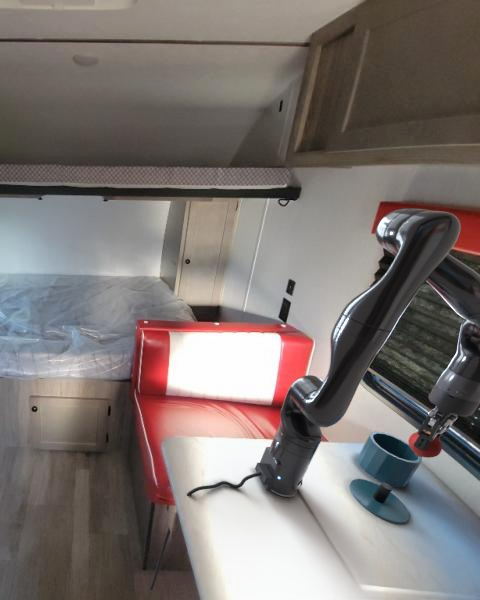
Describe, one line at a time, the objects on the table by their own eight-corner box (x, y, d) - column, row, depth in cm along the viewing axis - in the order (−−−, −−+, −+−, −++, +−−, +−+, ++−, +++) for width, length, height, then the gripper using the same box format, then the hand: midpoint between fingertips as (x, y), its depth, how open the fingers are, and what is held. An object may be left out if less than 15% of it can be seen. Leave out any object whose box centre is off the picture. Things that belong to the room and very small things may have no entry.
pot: (376, 486, 95) (392, 460, 92) (347, 454, 106) (360, 429, 102) (416, 490, 95) (433, 464, 92) (383, 457, 106) (397, 433, 102)
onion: (420, 448, 88) (435, 425, 85) (439, 466, 83) (456, 442, 80) (397, 445, 89) (411, 421, 86) (415, 462, 83) (430, 438, 80)
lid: (372, 522, 84) (383, 505, 82) (338, 479, 96) (346, 463, 94) (420, 527, 85) (432, 511, 82) (380, 483, 96) (390, 468, 94)
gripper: (448, 375, 85) (417, 427, 91) (425, 387, 78) (393, 442, 84) (491, 393, 78) (454, 447, 85) (470, 407, 72) (432, 465, 78)
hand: (424, 444), depth 84 cm, fingers closed on onion, 6 cm apart
